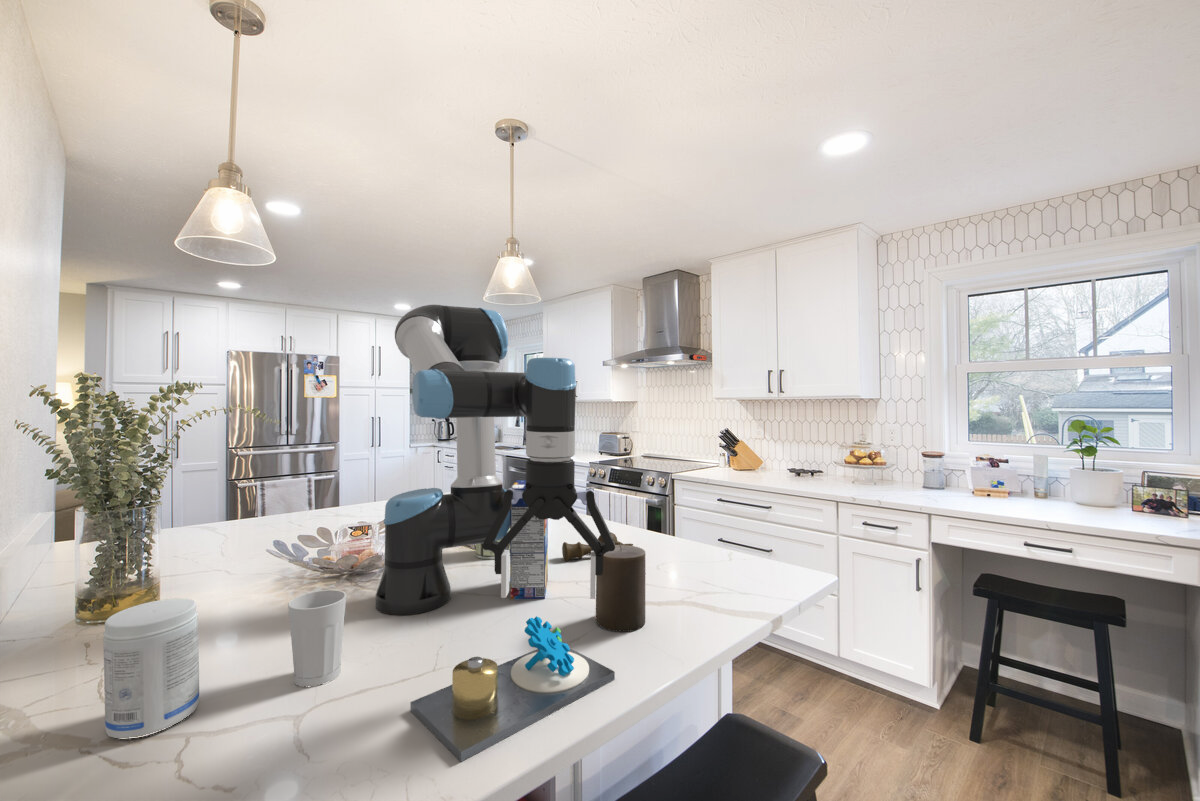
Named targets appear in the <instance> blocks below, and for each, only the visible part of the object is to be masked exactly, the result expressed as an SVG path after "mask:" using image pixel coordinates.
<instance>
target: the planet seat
mask: <svg viewBox="0 0 1200 801" xmlns="http://www.w3.org/2000/svg"><path fill="white" fill-rule="evenodd" d="M536 653H537V652H535V653H532V654H529V655H526V656H524V657H522V658H521V659H519V660H518V661H517V662H516V663H515V664H514V665H513V667H512V669H511V678H512V680H513V682H514V683H515V684H516V685H517V686H519V687H521V688H523V689H525V690H528V691H532V692H538V693H555V692H561V691H565V690H569V689H571V688H574V687H576V686H578V685H579V684H581V683H582V682H583V681H584V680H585V679H586V678H587V676H588V674H589V665H588V663H587V661H586V660H585V659H584V658H582V657H581V656H579V655H577V654H575V653H572V652H568V654H570V655H571V656H572V657H573V658H574V662H573V663H572V664H571V665H572V666H573V667H574V669H573V670H572V671H571V672H570V673H567V674H566V675H565V676H562V675H560V674H559V673H558V669H559V666H558V665H557V666H558V668H557V669H556V670H555V671H554V672H552V671H551V670H550V669H549V668H548V666H547V665H548V664H549V663H550V660H549V659H548V658H545V659H544V660H543V661H540V660H539V661H538V662H537V663H536V664H535V665H534V666H533V667H532V668H531V669H530V670H527V669H526V667H525V664H526V663H527V662H528V661H529V660H530V659H531V658H532V657H533V656H534V655H535V654H536Z"/></svg>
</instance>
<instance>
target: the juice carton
mask: <svg viewBox="0 0 1200 801" xmlns="http://www.w3.org/2000/svg"><path fill="white" fill-rule="evenodd" d="M525 486H526V479H523V480H522V479H520V480H519V479H518V480H517V479H516V480H515V481H514V482H513V484H512V485H511V487H512V488H514V489H515V490H521V491H524V490H525ZM527 509H528V506H527V505H526V503H525V502H524V501H523V499H522V498H520V499H519V500H518V502H517V503H516V504H513V505H512V507H511V509H510V529H511V528H512V527H513V526H514V525H515V523H516V522H517V521H518V520H519V519H520V518H521V516H522V515H523V514H524V513H525V512H526V510H527ZM548 519H549V518H548ZM548 519H544V520H539V518H537V517H535V516H533V517H532V518H531V519H530V521H529V522H528V523H527V524H526V525H525V526H524V527H523V528H522V529H521V531H520V532H519V533H518V534H517V535H516V536H515V538H514V539H513V540H512V541H511V542H510V556H509V593H510V594H509V596H510V597H509V598H510V599H509V600H545V599H546V593H547V588H548V587H547V586H548V579H549V578H548V577H549V574H548V572H549V571H548V569H549V565H548V560H549V558H548V557H549V556H548V555H549V554H548V552H549V548H548V547H549V545H548V544H549V540H548V539H549V537H548V533H549V532H548V531H549V530H548V527H549V522H548Z"/></svg>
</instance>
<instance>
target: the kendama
mask: <svg viewBox="0 0 1200 801" xmlns="http://www.w3.org/2000/svg"><path fill="white" fill-rule="evenodd" d="M610 533H611V536H612V538H613V540H614V542H615V545H620V544H621V545H628V546H634V544H633V543H623V542H621V541H618V538H617V536H616V534H615V533H614V532H610ZM597 539H598V540H599V541H600V542H601V543H603V542H604V541H603V539H602V537H601V535H600V534H599V535H598V537H597ZM561 547H562V548H561V551H562V558H563V560H564V561H565V562H568V561H569V560H571V559H575V558H578V559H582V558H583V557H584V556H587V555H591V551H593V550H592V548H591V547H590V546H589V545H588V544H584V543H581V542H580V541H578V542H577V543H568V542H566V541H564V542H563V543H562V546H561Z"/></svg>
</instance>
